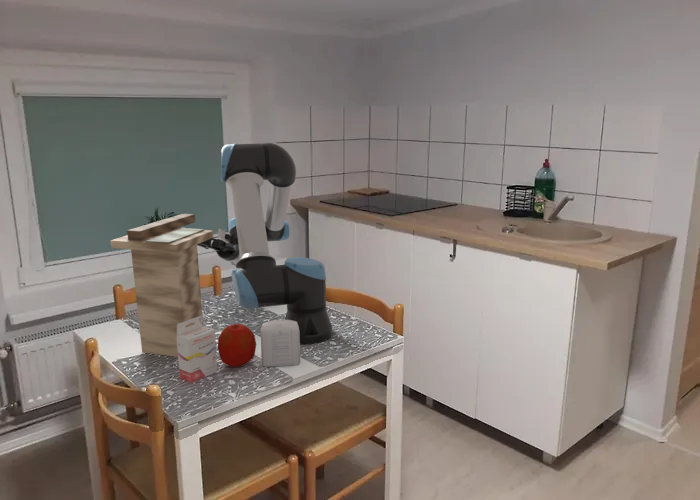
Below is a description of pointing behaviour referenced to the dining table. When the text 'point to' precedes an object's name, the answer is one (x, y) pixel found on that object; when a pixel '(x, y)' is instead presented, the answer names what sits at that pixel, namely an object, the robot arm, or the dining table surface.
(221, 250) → the robot arm
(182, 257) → the oak stand
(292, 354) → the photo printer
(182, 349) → the ink cartridge box
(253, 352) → the apple
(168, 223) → the walnut strip
